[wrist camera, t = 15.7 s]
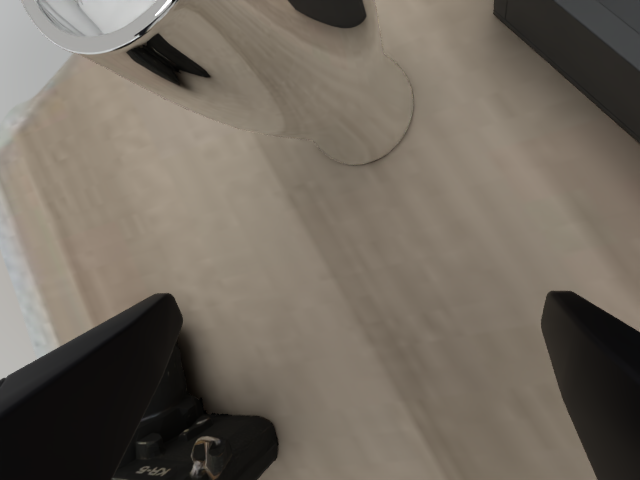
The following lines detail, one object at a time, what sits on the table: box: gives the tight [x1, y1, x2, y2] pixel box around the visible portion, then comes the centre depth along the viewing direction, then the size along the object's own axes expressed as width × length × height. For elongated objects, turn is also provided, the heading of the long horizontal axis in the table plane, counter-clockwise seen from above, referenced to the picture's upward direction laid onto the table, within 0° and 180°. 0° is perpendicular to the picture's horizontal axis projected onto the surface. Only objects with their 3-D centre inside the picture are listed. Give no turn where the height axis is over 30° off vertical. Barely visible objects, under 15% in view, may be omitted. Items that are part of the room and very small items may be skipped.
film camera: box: [112, 342, 278, 480], centre depth 22 cm, size 18×12×10 cm
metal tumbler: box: [21, 0, 413, 165], centre depth 13 cm, size 7×7×15 cm
